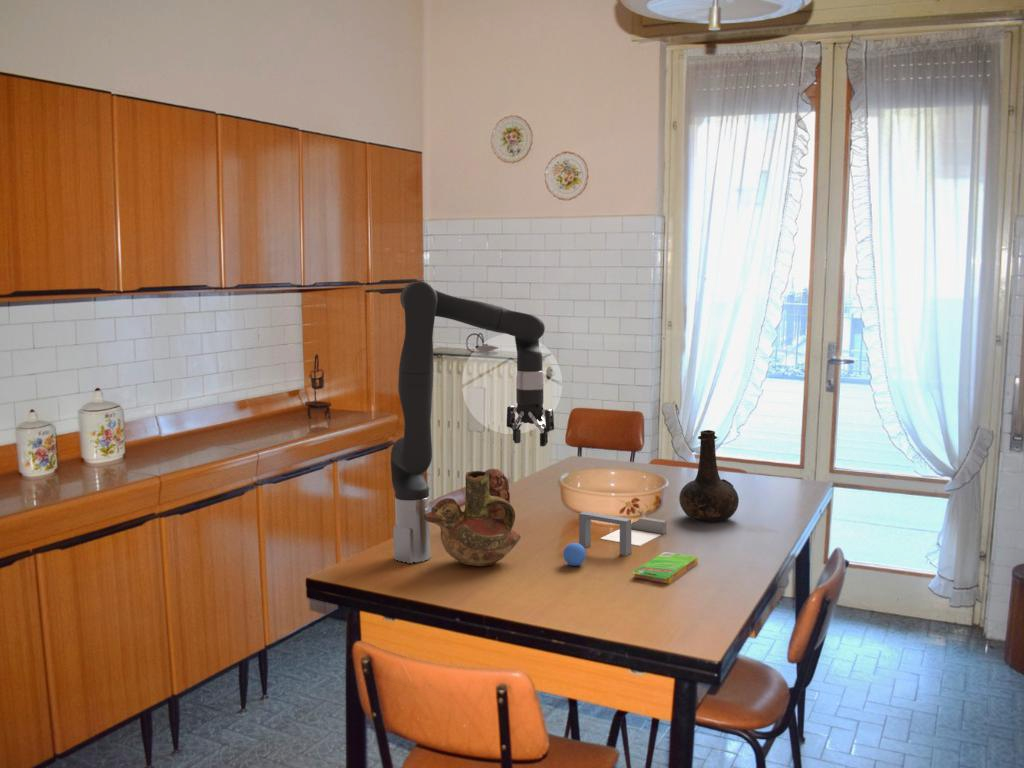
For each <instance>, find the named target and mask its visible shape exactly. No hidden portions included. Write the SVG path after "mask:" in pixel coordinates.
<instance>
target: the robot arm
mask: <svg viewBox="0 0 1024 768" xmlns="http://www.w3.org/2000/svg"><path fill="white" fill-rule="evenodd" d="M399 297H400V300H399V301H400V305H401V306H402V308H403V309H404V321H405V322H404V326H405V328H404V330H405V331H404V340H403V344H402V347H401V353H400V359H399V366H398V378H397V379H398V380H397V381H398V382H397V386H398V388H397V389H398V390H397V391H398V395H399V401H400V405H401V411H402V414H403V420H404V433H403V437H400V438H399V439H398V440H396V441H395V442H394V443H393V446H392V447H391V451H390V470H391V471H390V472H391V473H390V474H391V484H392V488H393V490H394V507H395V509H394V510H395V511H394V513H395V525H394V526H393V528H392V530H393V560H394V559H395V560H394V561H397V560H398V561H397V562H401V561H402V562H403V563H405V562H407V563H406V564H410V563H411V564H414V563H413V562H415V563H422V562H425V560H426V561H428V560H430V558H431V529H430V528H431V527H430V526H431V525H430V523H431V522H427V521H426V520H425V517H424V515H425V514H427V513H429V512H430V489H429V485H428V483H427V481H426V478H425V474H424V473H425V472H426V471H427V470H428V469H429V467H430V465H431V463H432V459H433V445H432V443H433V442H432V429H431V428H432V427H431V425H432V423H431V421H432V420H431V419H432V406H433V405H432V403H433V390H434V389H433V387H434V339H433V336H434V328H435V327H434V326H435V318H436V317H439V318H444V319H448V320H452V321H456V322H460V323H463V324H467V325H469V326H471V327H475V328H478V329H482V330H486V331H489V332H490V331H491V332H494V333H499V334H506V335H509V336H512V337H514V341H515V348H516V349H515V350H516V353H517V354H516V356H517V357H516V377H515V379H516V380H515V382H516V383H515V384H516V386H515V390H516V392H515V393H516V395H515V396H516V399H515V400H516V404H517V405H514V404H513V405H509V406H507V408H506V409H507V411H506V427H507V428H509V429H511V430H512V440H513V443H514V444H520V443H521V440H522V439H521V427H522V426H523V424H527V423H528V424H531V425H535V427H537V428H538V430H539V432H540V433H539V445H540V447H543V448H544V447H546V446H547V444H548V442H549V439H548V438H549V437H548V436H549V435H548V433H549V432H551V431H554V430H555V417H554V416H555V415H554V409H553V408H549V409H545V408H544V405H543V404H544V385H545V384H544V374H543V354H542V351H541V350H540V341H539V339H541V338H542V336H543V335H544V334H545V331H546V330H545V329H546V327H545V323H544V321H543V320H542V318H540V317H539V316H537V315H535V314H529V313H526V312H525V313H524V312H520V311H515V310H510V309H508V308H506V307H502V306H500V305H495V304H492V303H487V302H485V301H484V302H483V301H477V300H472V299H466V298H461V297H458V296H454V295H450V294H446V293H444V292H441V291H439V290H437V289H435V288H434V287H433V286H432V285H431V284H430V283H428V282H426V281H413V282H411V283H409V284H406V285H405V286H404V287H403V289H402V291H401V292H400V296H399ZM516 414H517V415H518V416H517V418H516ZM421 561H422V562H421ZM402 562H401V563H402Z"/></svg>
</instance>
